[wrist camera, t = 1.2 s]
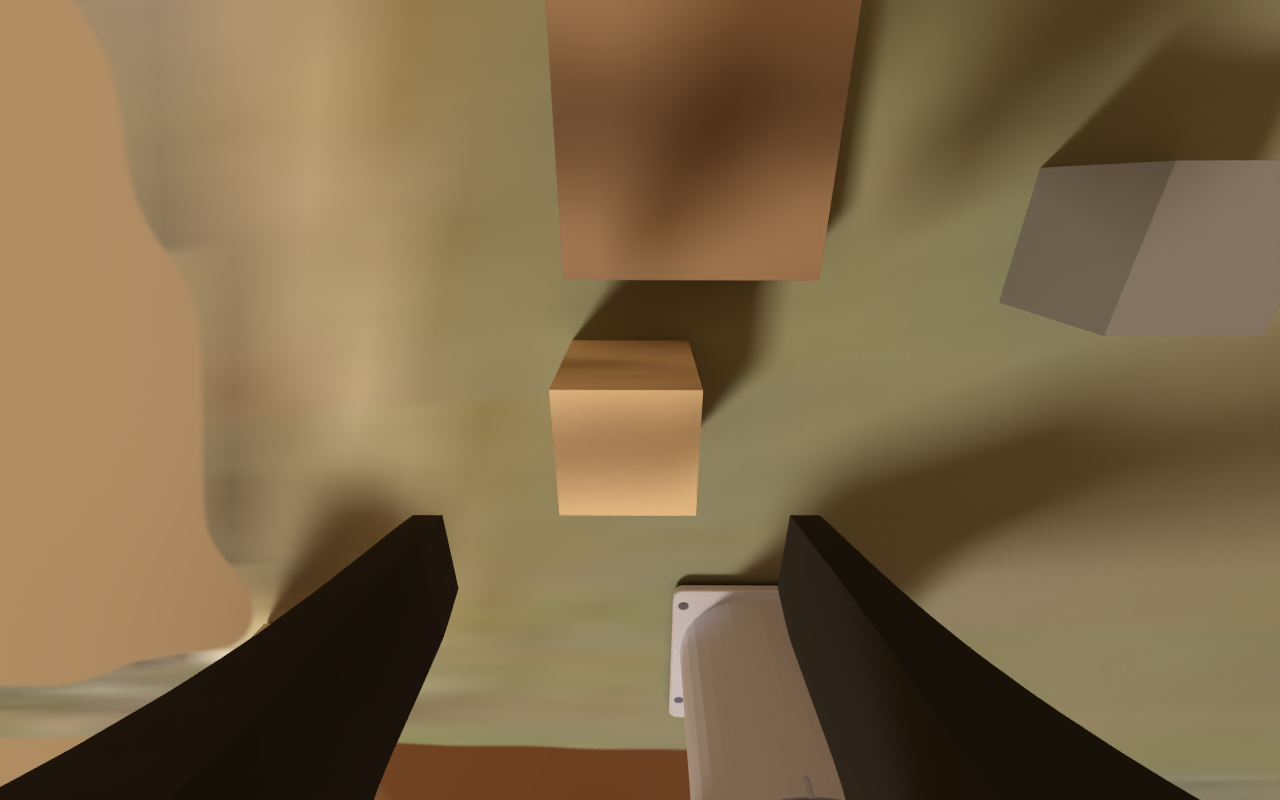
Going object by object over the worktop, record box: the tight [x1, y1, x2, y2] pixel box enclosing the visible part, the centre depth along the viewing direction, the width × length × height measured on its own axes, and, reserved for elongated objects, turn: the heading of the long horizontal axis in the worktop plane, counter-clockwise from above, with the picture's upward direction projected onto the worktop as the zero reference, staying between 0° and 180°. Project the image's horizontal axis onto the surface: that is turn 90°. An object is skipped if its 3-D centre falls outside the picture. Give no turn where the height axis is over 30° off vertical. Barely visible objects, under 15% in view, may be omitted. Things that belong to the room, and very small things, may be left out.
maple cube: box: [549, 340, 703, 516], centre depth 17 cm, size 4×4×5 cm
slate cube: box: [999, 160, 1280, 336], centre depth 15 cm, size 4×4×4 cm
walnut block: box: [546, 0, 862, 281], centre depth 15 cm, size 8×8×3 cm
